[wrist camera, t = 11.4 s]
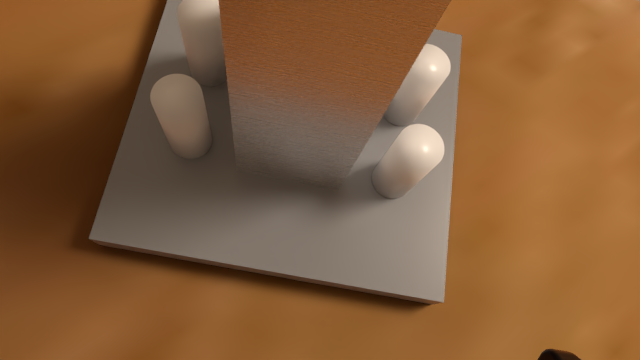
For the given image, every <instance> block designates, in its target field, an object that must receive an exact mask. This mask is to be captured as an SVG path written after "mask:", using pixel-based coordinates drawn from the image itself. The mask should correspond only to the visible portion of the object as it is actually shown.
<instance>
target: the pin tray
mask: <svg viewBox="0 0 640 360" xmlns="http://www.w3.org/2000/svg"><path fill="white" fill-rule="evenodd" d="M461 40H462V35H458V34H454V33H449V32H445V31H440V30H436V29H434V30H433V32H432V33H431V35H430V37H429V39H428V40H427V42H426V44H425V45H424V47H423V49H422V50H421V52H420V54H419V55H418V57H417V59H416V61H415V62H414V64H413V66H412V67H411V69H410V71H409V72H408V74H407V76H406V77H405V79H404V81H403V83H402V84H401V86H400V88H399V89H398V91H397V93H396V94H395V96H394V98H393V99H392V101H391V103H390V105H389V106H388V108H387V110H386V111H385V113H384V115H383V116H382V118H381V120H380V121H379V123H378V125H377V127H376V128H375V130H374V132H373V133H372V135H371V137H370V138H369V140H368V142H367V143H366V145H365V147H364V149H363V150H362V152H361V154H360V155H359V157H358V159H357V160H356V162H355V164H354V165H353V167H352V169H351V171H350V172H349V174H348V176H347V177H346V179H345V181H344V182H343V184H342V186H341V187H340V189H339V190H334V189H329V188H323V187H318V186H313V185H308V184H303V183H298V182H292V181H287V180H282V179H277V178H272V177H267V176H261V175H256V174H251V173H246V172H241V171H237V168H236V159H235V149H234V140H233V131H232V121H231V112H230V103H229V93H228V84H227V75H226V65H225V56H224V47H223V37H222V28H221V19H220V9H219V0H167V3H166V6H165V9H164V12H163V15H162V18H161V21H160V24H159V27H158V30H157V33H156V36H155V39H154V42H153V45H152V48H151V51H150V54H149V57H148V60H147V63H146V67H145V70H144V73H143V76H142V79H141V82H140V85H139V88H138V91H137V94H136V97H135V100H134V103H133V106H132V109H131V112H130V115H129V118H128V121H127V124H126V127H125V130H124V133H123V136H122V139H121V142H120V145H119V148H118V151H117V154H116V157H115V160H114V163H113V166H112V169H111V172H110V175H109V178H108V181H107V184H106V187H105V190H104V193H103V196H102V199H101V202H100V206H99V209H98V212H97V215H96V218H95V221H94V224H93V227H92V230H91V233H90V236H89V239H90V240H92V241H93V242H95V243H97V244H99V245H103V246H108V247H114V248H119V249H125V250H131V251H136V252H142V253H147V254H153V255H159V256H164V257H170V258H175V259H181V260H187V261H192V262H198V263H203V264H209V265H215V266H220V267H226V268H231V269H237V270H243V271H248V272H254V273H259V274H265V275H271V276H276V277H282V278H287V279H293V280H299V281H304V282H310V283H315V284H321V285H327V286H332V287H338V288H343V289H349V290H355V291H360V292H366V293H371V294H377V295H383V296H388V297H394V298H399V299H405V300H411V301H416V302H422V303H427V304H437V303H444V293H445V278H446V263H447V248H448V234H449V219H450V204H451V189H452V174H453V159H454V144H455V130H456V115H457V100H458V85H459V70H460V55H461Z"/></svg>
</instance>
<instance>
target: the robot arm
mask: <svg viewBox="0 0 640 360" xmlns="http://www.w3.org/2000/svg"><path fill="white" fill-rule="evenodd" d="M538 360H581V359H580V358H578V357H577V356H576V355H574V354H573V353H570V352H567V351H561V350H555V349H546V350H545V351H543V352H542V353H541V355H540V357H539V358H538Z"/></svg>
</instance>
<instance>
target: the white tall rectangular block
mask: <svg viewBox="0 0 640 360" xmlns="http://www.w3.org/2000/svg"><path fill="white" fill-rule="evenodd" d="M450 1H451V0H219V9H220V19H221V28H222V37H223V47H224V56H225V65H226V75H227V84H228V93H229V103H230V112H231V121H232V131H233V140H234V149H235V159H236V168H237V171H241V172H246V173H251V174H256V175H261V176H267V177H272V178H277V179H282V180H287V181H292V182H298V183H303V184H308V185H313V186H318V187H323V188H329V189H334V190H339V189H340V187H341V186H342V184H343V182H344V181H345V179H346V177H347V176H348V174H349V172H350V171H351V169H352V167H353V165H354V164H355V162H356V160H357V159H358V157H359V155H360V154H361V152H362V150H363V149H364V147H365V145H366V143H367V142H368V140H369V138H370V137H371V135H372V133H373V132H374V130H375V128H376V127H377V125H378V123H379V121H380V120H381V118H382V116H383V115H384V113H385V111H386V110H387V108H388V106H389V105H390V103H391V101H392V99H393V98H394V96H395V94H396V93H397V91H398V89H399V88H400V86H401V84H402V83H403V81H404V79H405V77H406V76H407V74H408V72H409V71H410V69H411V67H412V66H413V64H414V62H415V61H416V59H417V57H418V55H419V54H420V52H421V50H422V49H423V47H424V45H425V44H426V42H427V40H428V39H429V37H430V35H431V33H432V32H433V30H434V28H435V27H436V25H437V23H438V22H439V20H440V18H441V17H442V15H443V13H444V11H445V10H446V8H447V6H448V5H449V3H450Z"/></svg>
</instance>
